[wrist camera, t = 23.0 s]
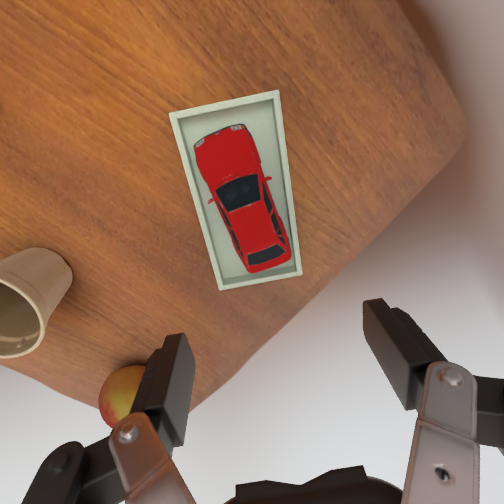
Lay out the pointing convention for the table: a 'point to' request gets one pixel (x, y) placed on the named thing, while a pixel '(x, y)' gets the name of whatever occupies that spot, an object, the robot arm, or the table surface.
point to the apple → (119, 393)
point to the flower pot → (29, 297)
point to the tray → (273, 164)
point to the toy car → (243, 197)
